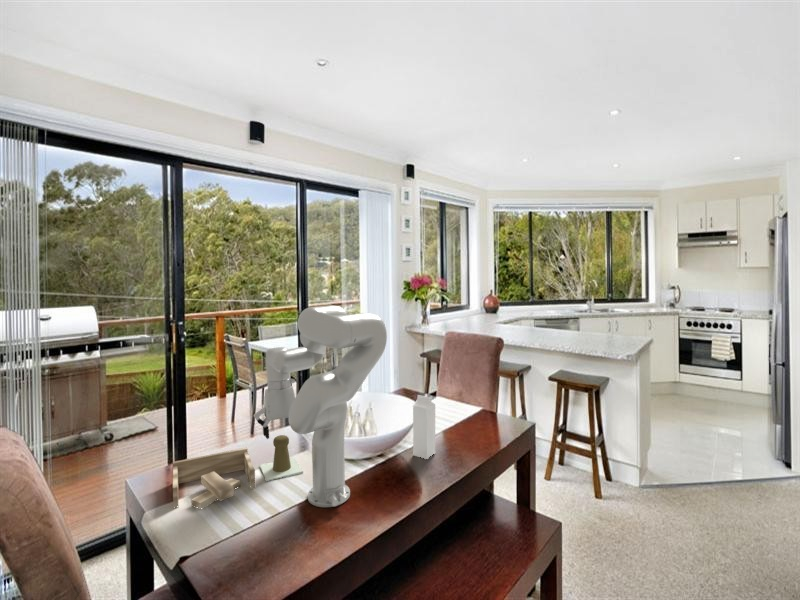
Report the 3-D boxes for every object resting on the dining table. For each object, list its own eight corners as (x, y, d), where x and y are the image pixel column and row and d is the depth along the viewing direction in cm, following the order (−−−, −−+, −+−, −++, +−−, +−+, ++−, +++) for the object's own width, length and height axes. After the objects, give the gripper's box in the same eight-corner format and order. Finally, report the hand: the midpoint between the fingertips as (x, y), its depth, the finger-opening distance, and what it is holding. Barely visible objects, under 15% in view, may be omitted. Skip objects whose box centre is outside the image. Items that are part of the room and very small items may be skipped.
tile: (303, 473, 138) (303, 471, 138) (266, 481, 132) (266, 480, 132) (294, 458, 149) (294, 457, 149) (259, 466, 143) (259, 464, 143)
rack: (255, 488, 128) (254, 466, 128) (173, 508, 118) (172, 484, 117) (247, 466, 143) (246, 447, 142) (174, 483, 132) (173, 461, 131)
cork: (285, 472, 137) (285, 440, 136) (269, 471, 138) (268, 439, 137) (294, 464, 143) (293, 433, 142) (278, 463, 144) (277, 432, 143)
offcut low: (240, 488, 130) (239, 480, 129) (200, 511, 117) (200, 503, 117) (231, 485, 131) (230, 478, 131) (191, 507, 119) (191, 499, 119)
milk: (422, 449, 156) (422, 392, 154) (435, 454, 152) (435, 395, 151) (412, 455, 151) (412, 396, 149) (426, 460, 147) (426, 399, 146)
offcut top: (214, 478, 131) (214, 471, 130) (234, 495, 121) (233, 487, 121) (201, 483, 128) (200, 475, 128) (220, 500, 118) (220, 492, 118)
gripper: (301, 378, 146) (304, 426, 146) (250, 386, 137) (253, 436, 138) (307, 382, 139) (310, 432, 140) (254, 390, 131) (257, 443, 131)
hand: (281, 434), depth 139 cm, fingers open, 9 cm apart
